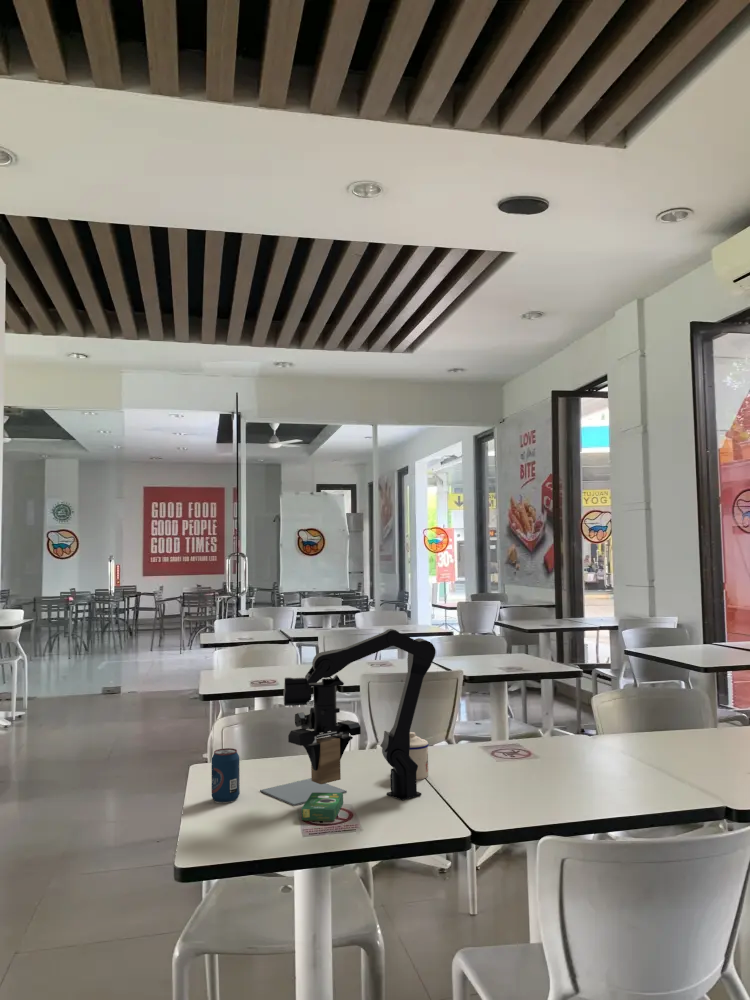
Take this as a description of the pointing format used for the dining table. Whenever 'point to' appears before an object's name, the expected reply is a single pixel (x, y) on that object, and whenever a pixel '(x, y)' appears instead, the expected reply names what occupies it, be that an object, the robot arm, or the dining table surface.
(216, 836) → the dining table surface
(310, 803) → the coffee box
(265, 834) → the dining table surface
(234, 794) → the soda can
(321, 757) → the brown wooden block
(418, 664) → the robot arm
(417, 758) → the teacup with lid
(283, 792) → the slate mat
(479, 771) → the dining table surface
